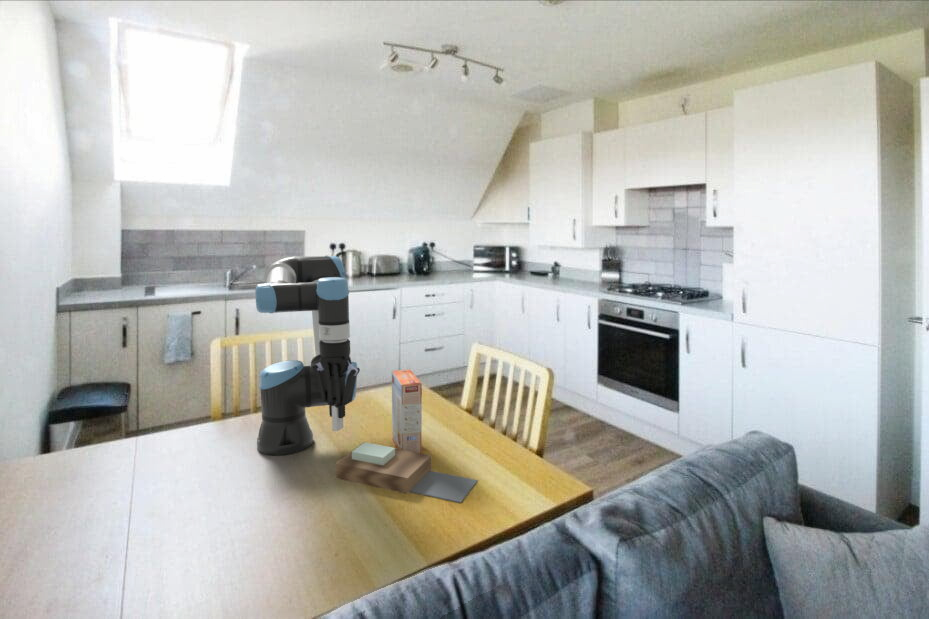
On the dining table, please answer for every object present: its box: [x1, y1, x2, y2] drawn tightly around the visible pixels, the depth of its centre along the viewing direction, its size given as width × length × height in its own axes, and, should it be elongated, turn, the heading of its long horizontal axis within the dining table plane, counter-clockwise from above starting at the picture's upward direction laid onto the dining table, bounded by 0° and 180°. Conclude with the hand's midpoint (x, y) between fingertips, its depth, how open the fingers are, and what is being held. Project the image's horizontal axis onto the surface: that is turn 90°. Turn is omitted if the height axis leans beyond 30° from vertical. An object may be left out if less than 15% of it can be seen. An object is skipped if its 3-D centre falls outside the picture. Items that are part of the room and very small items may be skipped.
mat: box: [409, 470, 478, 504], centre depth 129 cm, size 13×11×1 cm
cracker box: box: [391, 369, 423, 454], centre depth 148 cm, size 14×6×21 cm, turn 18°
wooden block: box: [334, 443, 432, 495], centre depth 135 cm, size 20×13×4 cm, turn 69°
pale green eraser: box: [351, 442, 396, 465], centre depth 135 cm, size 9×6×2 cm, turn 69°
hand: (338, 428), depth 138 cm, fingers closed
